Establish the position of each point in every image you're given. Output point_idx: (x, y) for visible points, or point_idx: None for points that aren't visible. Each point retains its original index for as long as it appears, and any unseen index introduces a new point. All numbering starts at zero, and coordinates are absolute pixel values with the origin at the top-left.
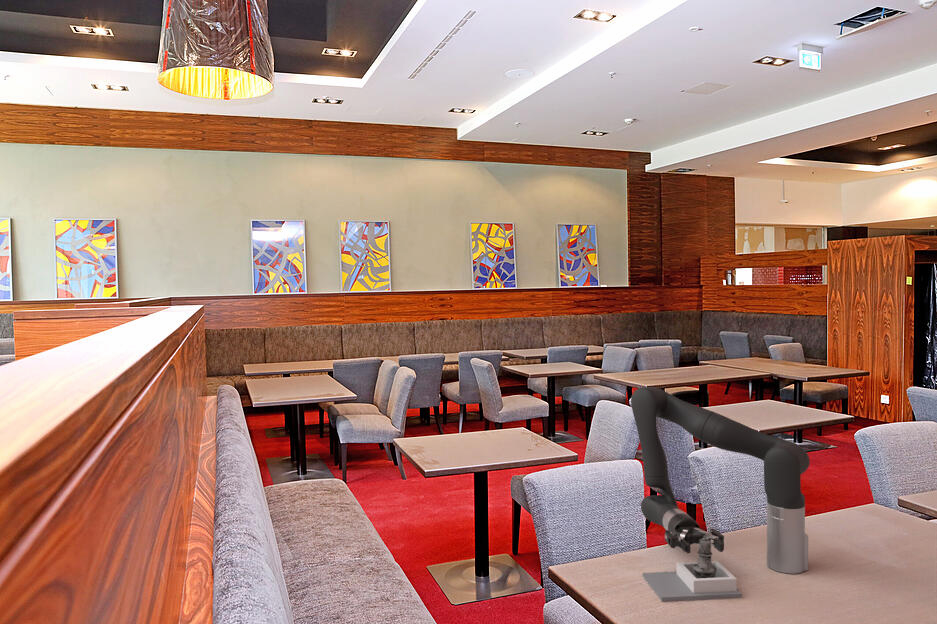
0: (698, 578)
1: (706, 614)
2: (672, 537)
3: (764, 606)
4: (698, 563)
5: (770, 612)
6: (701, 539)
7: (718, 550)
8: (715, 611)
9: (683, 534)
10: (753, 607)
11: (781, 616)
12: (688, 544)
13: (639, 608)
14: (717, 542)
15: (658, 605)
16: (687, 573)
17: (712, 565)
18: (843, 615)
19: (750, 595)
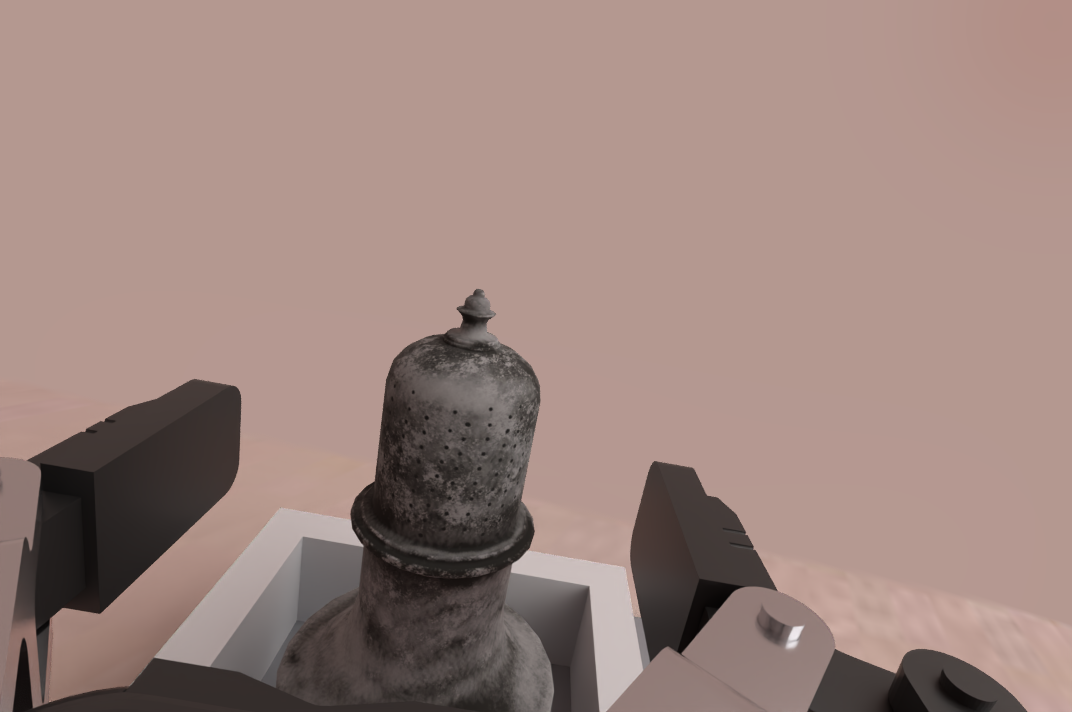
0: (572, 581)
1: (598, 525)
2: (980, 685)
3: (256, 496)
4: (504, 635)
5: (288, 465)
6: (513, 358)
7: (204, 510)
8: (542, 529)
9: (707, 674)
10: (322, 504)
11: (276, 441)
12: (671, 471)
13: (952, 645)
14: (185, 429)
15: (844, 644)
16: (636, 675)
17: (286, 685)
18: (14, 386)
19: (187, 586)
